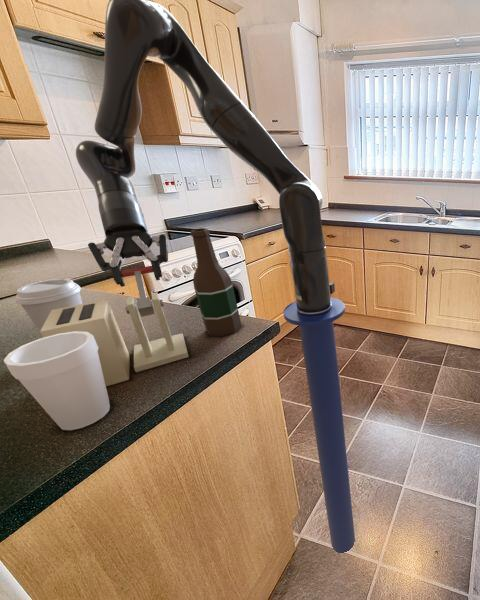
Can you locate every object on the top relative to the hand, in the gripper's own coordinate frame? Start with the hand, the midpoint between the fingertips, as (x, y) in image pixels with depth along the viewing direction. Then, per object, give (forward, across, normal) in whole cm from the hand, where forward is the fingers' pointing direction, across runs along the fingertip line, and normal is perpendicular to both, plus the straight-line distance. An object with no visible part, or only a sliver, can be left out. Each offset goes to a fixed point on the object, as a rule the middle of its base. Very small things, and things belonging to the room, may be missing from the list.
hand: (140, 281), depth 72 cm
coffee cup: (+6, -15, +14) cm, 21 cm away
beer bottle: (+13, +13, +7) cm, 20 cm away
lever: (+3, 0, -1) cm, 3 cm away
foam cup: (+26, -11, -6) cm, 29 cm away
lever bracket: (+16, 0, +4) cm, 16 cm away
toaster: (+17, -10, +3) cm, 20 cm away
